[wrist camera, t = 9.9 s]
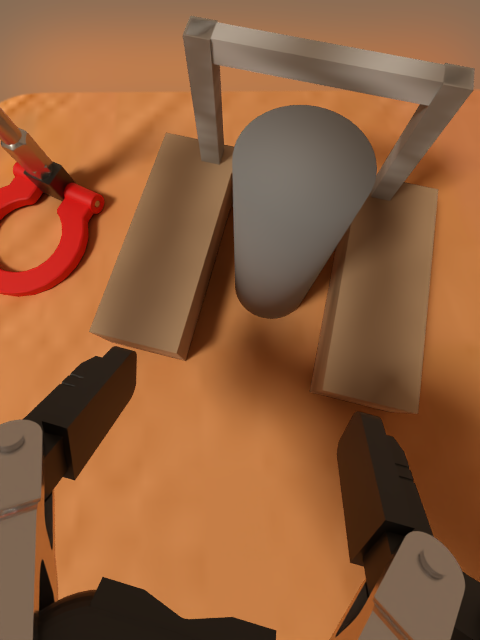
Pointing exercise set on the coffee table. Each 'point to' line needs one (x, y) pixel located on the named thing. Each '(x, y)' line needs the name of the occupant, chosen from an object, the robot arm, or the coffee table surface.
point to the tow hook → (25, 189)
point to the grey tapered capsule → (294, 201)
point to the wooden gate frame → (351, 252)
